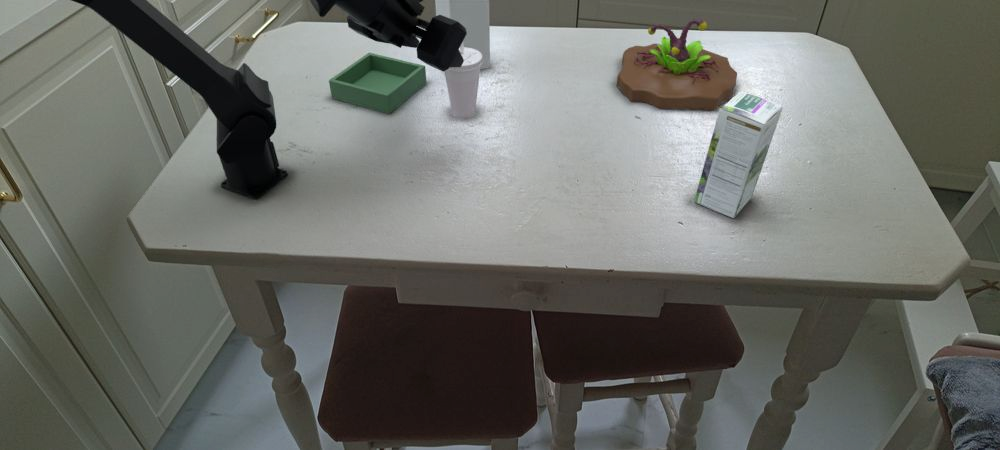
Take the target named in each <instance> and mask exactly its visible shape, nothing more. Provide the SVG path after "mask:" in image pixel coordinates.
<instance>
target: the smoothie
mask: <svg viewBox="0 0 1000 450" xmlns="http://www.w3.org/2000/svg"><path fill="white" fill-rule="evenodd" d="M459 51H460V53H461V55H462V57H463V59H464V62H463V64H462V66H461V67H451V68H449V69H448V70H446V71H444V72H443V74H444V78H445V84H446V87H447V93H448V98H449V103H450V109H451V114H452V116H454V117H455V118H458V119H468V118H471V117H473V116H474V115H476V111H477V110H476V109H477V108H476V107H477V102H478V101H477V99H478V92H479V91H478V90H479V81H480V73H481V69H480V66H481V65H482V63H483V60H482V54H481V53H480V52H479V51H478V50H475V49H472V48H467V47H464V46H463V42H462V44H461V46H460V48H459Z"/></svg>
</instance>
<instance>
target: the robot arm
mask: <svg viewBox="0 0 1000 450" xmlns="http://www.w3.org/2000/svg"><path fill="white" fill-rule="evenodd" d="M70 1H71V2H74V3H76V4H79V5H82V6H84V7H87V8H89V9H90V10H92V11H93V12H95V13H96V14H97V15H98V16H100V17H101V18H103V19H104V20H105V21H106V22H107V23H109V24H110V26H113V27H114V28H115V29H116V30H117V31H119V32H120V33H121V34H123V35H124V36H125V37H126V38H128V39H129V40H130V41H132V42H133V43H134V44H135V45H137V46H138V47H139V48H140V49H141V50H143V51H144V52H145V53H147V54H148V55H149V56H151V57H152V58H153V59H154V60H156V61H157V62H158V63H159V64H161V65H162V67H165V68H166V69H167V70H168V71H170V72H171V73H172V74H173V75H174V76H176V77H177V78H178V79H179V80H181V81H182V82H184V84H186V85H187V86H188V87H190V89H193V90H194V91H195V92H196V93H197V94H199V96H200V97H201V98H202V99H203V101H204V102H205V103H206V105H207V106H208V108H209V110H210V111H211V112H212V114H213V115H214V117H215V118H216V154H217V155H218V157H219V159H220V163H221V166H222V170H223V172H224V175H225V180H223V181H222V182H221V183H220V186H221V188H222V189H225V190H228V191H230V192H233V193H237V194H239V195H241V196H245V197H248V198H250V199H253V200H258V199H260V198H262V197H263V196H264V195H266V193H268V192H269V191H270V190H272V189H273V188H274V187H275V186H277V185H278V184H279V183H280V182H282V181H283V180H284V179H285V178H286V177H288V171H287V170H285V169H283V168H279V167H280V162H279V159H278V155H277V152H276V147H275V145H274V141H272V140H271V137H272V136H273V135H274V134H275V131H276V128H277V118H276V109H275V104H274V96H273V94H272V91H271V90H270V86H269V81H267V80H265V79H262V78H261V77H259V76H258V75H257V74H256V73H255V72H254V71H253V69H251V67H250V66H249V65H248V64H247V63H245V62H243V63H242V64H241V65H240V67H239V68H238V69H235V68H233V67H230V66H227V65H224V64H223V63H221V62H220V61H219V60H217V58H215V57H214V56H213V55H212V54H211V53H209V52H208V51H207V50H206V49H204V48H203V46H201V45H200V44H198V43H197V41H195V40H194V39H193V38H191V36H189V35H188V34H187V33H186V32H184V31H183V30H182V29H181V28H180V27H179V26H177V25H176V24H175V23H174V22H173V21H172V20H170V19H169V18H168V17H167V16H166V15H164V13H162V12H161V11H160V10H159V9H158V8H156V7H155V6H154V5H153V4H152V3H151V2H149V1H148V0H70ZM423 1H424V0H308V2H309V3H310V4H311V5H312V7H313V8H314V10H315V11H316V12H317V14H318V16H319V17H321V18H324V17H326V16H327V14H329V12H330V11H331V10H332V8H333V7H334V6H335V7H337V8H338V9H340V10H341V11H343V12H344V13H345V14H347V16H346V21H347V27H348V28H349V29H351V30H352V31H353V32H354V33H356V34H359V35H361V36H362V37H365V38H368V39H369V40H372V41H374V42H377V43H384V44H389V45H392V46H394V47H397V48H400V49H402V47H406V48H412V49H416V58H417V59H418V60H420V61H421V62H423V63H424V64H426V65H427V66H430V67H432V68H434V69H437V70H439V71H441V72H442V73H444V71H446V70H448V69H449V68H451V67H461V66H462V64H463V62H464V59H463V57H462V55H461V53H460V51H459V48H460V46H461V44H462V42H463V40H464V38H465V36H466V34H467V31H466V28H465V27H464V26H463V25H461V24H460V23H459V22H458V21H455V20H453V19H450V18H447V17H445V16H442V15H438V16H436V15H435V16H433V17H432V18H431V19H430V21H427V20H425V19H422V18H419V17H421V16H422V14H423V12H424V10H425V6H424V5H422V4H421V3H422V2H423ZM419 39H420V40H419Z"/></svg>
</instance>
